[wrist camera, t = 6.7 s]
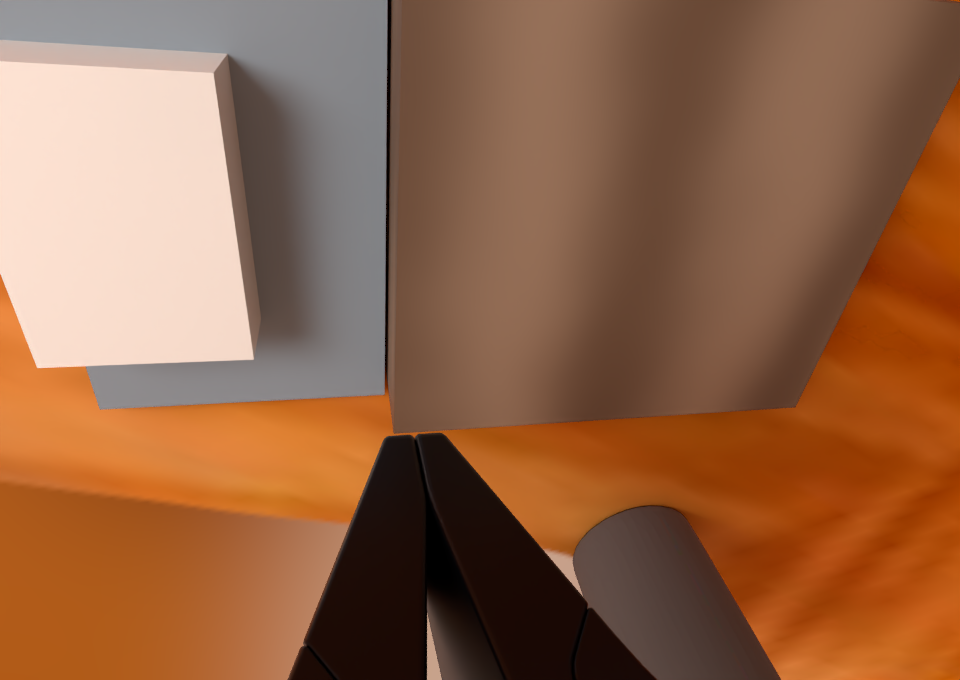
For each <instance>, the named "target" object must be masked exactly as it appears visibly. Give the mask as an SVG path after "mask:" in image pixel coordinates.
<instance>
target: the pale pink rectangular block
mask: <svg viewBox="0 0 960 680" xmlns="http://www.w3.org/2000/svg"><path fill="white" fill-rule="evenodd" d="M0 274H1V276H2V279H3V281H4V284H5V286H6V289H7V292H8V294H9V297H10V299H11V302H12V304H13V307H14V310H15V312H16V315H17V317H18V320H19V322H20V325H21V327H22V330H23V333H24V335H25V338H26V340H27V343H28V345H29V348H30V351H31V353H32V356H33V358H34V361H35V363H36V366H37V368H49V367H75V366H102V365H128V364H154V363H180V362H206V361H232V360H254V356H255V351H256V345H257V339H258V333H259V328H260V322H261V314H260V306H259V298H258V290H257V282H256V274H255V267H254V259H253V251H252V243H251V235H250V227H249V219H248V211H247V204H246V196H245V188H244V180H243V172H242V164H241V156H240V149H239V141H238V133H237V125H236V117H235V109H234V101H233V93H232V86H231V78H230V70H229V62H228V54H223V53H207V52H190V51H174V50H158V49H142V48H125V47H109V46H93V45H77V44H60V43H44V42H28V41H12V40H0Z"/></svg>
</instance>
